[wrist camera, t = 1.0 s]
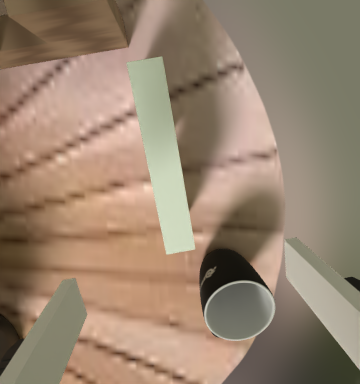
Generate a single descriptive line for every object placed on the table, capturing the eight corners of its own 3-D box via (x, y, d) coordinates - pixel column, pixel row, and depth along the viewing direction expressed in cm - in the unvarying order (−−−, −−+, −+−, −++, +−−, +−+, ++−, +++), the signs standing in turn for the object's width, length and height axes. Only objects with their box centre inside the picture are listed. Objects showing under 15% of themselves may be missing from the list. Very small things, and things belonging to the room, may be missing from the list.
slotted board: (-32, 74, 30) (-155, 43, 18) (-43, 47, 29) (-177, -3, 18) (128, 47, 30) (106, -1, 19) (122, 19, 29) (96, -48, 18)
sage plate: (166, 219, 37) (168, 263, 25) (138, 76, 31) (123, 48, 20) (186, 215, 37) (196, 257, 25) (161, 72, 31) (160, 42, 20)
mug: (203, 234, 38) (217, 273, 28) (256, 248, 39) (287, 289, 29) (181, 298, 41) (187, 353, 31) (231, 308, 42) (251, 364, 32)
